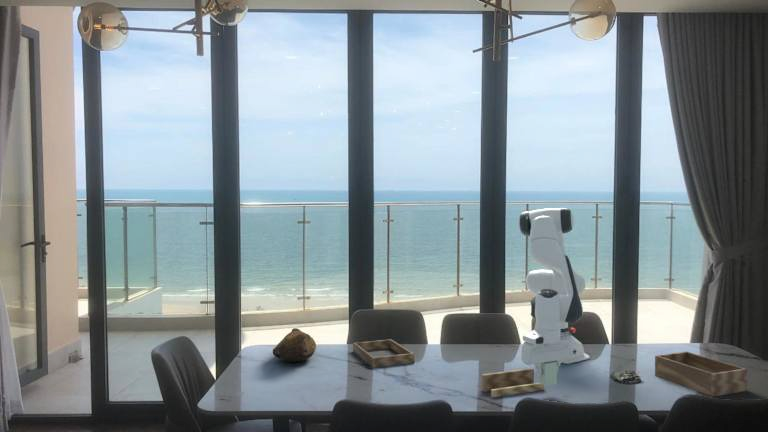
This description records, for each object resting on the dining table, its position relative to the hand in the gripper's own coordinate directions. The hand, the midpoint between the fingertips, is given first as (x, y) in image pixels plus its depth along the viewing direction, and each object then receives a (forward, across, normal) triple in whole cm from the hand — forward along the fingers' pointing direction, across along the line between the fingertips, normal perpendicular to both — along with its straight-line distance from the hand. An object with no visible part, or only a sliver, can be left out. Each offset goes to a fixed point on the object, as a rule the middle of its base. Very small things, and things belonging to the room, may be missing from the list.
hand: (547, 373), depth 206 cm
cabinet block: (+4, 0, 0) cm, 4 cm away
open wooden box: (+9, -62, +11) cm, 64 cm away
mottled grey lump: (+9, -39, -3) cm, 40 cm away
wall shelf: (+8, +9, -9) cm, 15 cm away
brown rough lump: (+8, +74, -79) cm, 109 cm away
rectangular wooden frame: (+8, +37, -68) cm, 78 cm away
